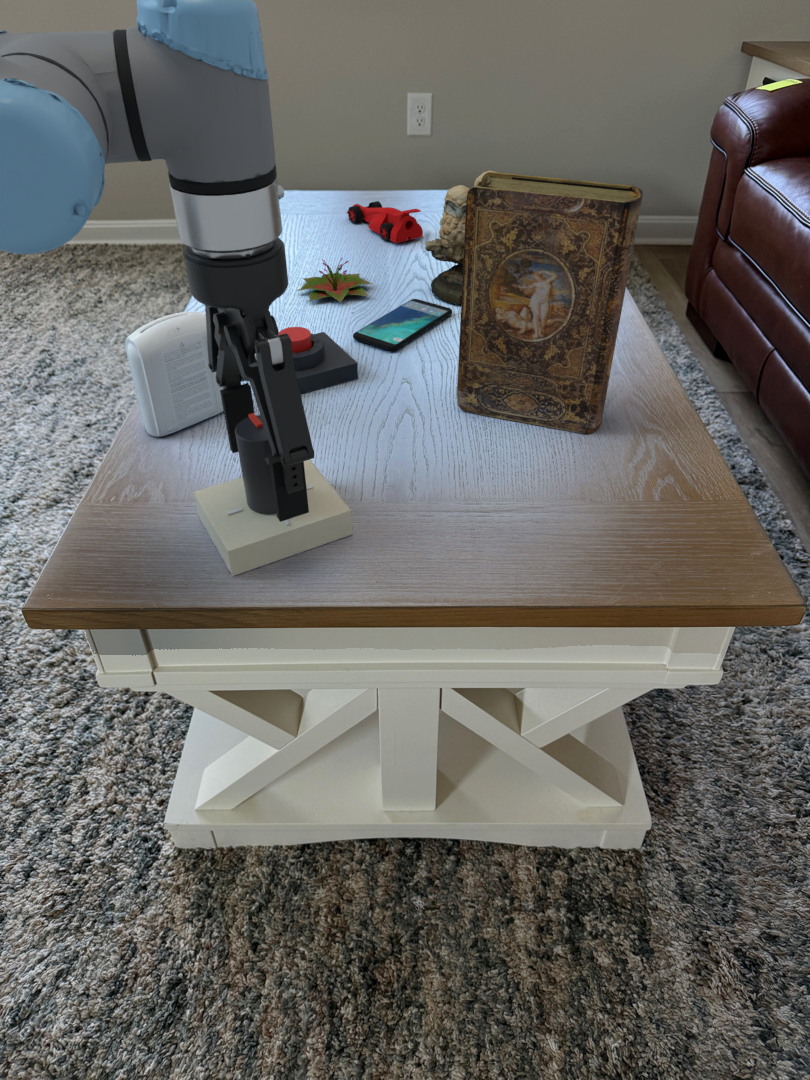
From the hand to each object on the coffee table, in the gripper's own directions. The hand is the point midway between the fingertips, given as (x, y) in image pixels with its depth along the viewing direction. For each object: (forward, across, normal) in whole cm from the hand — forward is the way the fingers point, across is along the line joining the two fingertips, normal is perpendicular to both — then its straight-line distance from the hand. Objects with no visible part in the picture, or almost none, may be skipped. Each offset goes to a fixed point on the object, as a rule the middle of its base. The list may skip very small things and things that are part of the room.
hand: (267, 479), depth 72 cm
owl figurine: (+6, +36, -48) cm, 60 cm away
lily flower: (+6, +48, -29) cm, 56 cm away
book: (+6, +5, -34) cm, 35 cm away
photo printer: (+6, +23, +2) cm, 24 cm away
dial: (+2, 0, 0) cm, 2 cm away
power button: (+2, +27, -14) cm, 30 cm away
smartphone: (+5, +32, -32) cm, 46 cm away
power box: (+5, +27, -14) cm, 31 cm away
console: (+5, 0, 0) cm, 5 cm away
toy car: (+6, +69, -48) cm, 84 cm away
